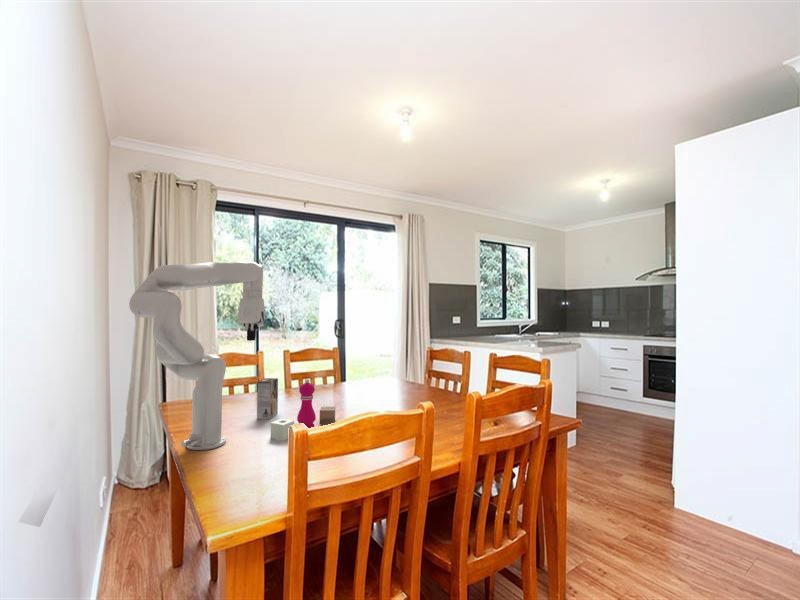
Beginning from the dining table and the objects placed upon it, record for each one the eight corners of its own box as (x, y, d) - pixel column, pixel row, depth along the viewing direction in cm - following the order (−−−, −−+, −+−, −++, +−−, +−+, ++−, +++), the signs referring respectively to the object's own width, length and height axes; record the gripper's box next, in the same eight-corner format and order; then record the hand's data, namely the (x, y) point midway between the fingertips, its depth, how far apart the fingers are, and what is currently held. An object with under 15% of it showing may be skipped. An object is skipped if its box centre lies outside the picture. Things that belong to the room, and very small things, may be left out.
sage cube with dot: (283, 440, 146) (283, 424, 146) (270, 438, 149) (270, 422, 149) (294, 436, 152) (294, 420, 152) (281, 433, 154) (282, 418, 154)
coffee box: (263, 413, 182) (264, 377, 182) (277, 413, 182) (278, 378, 182) (256, 419, 172) (256, 381, 173) (270, 419, 172) (271, 382, 172)
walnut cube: (334, 424, 167) (334, 410, 167) (319, 424, 166) (319, 410, 166) (335, 420, 173) (335, 406, 173) (321, 420, 172) (321, 406, 172)
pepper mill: (310, 432, 156) (311, 381, 156) (293, 431, 157) (294, 380, 157) (318, 427, 163) (319, 377, 163) (301, 425, 164) (302, 377, 164)
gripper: (231, 294, 161) (229, 340, 160) (262, 294, 156) (260, 341, 156) (243, 295, 168) (242, 339, 167) (273, 295, 163) (272, 340, 163)
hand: (251, 340), depth 161 cm, fingers closed
